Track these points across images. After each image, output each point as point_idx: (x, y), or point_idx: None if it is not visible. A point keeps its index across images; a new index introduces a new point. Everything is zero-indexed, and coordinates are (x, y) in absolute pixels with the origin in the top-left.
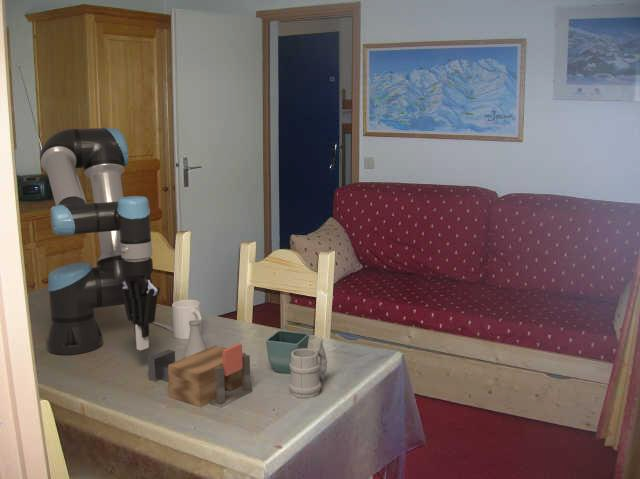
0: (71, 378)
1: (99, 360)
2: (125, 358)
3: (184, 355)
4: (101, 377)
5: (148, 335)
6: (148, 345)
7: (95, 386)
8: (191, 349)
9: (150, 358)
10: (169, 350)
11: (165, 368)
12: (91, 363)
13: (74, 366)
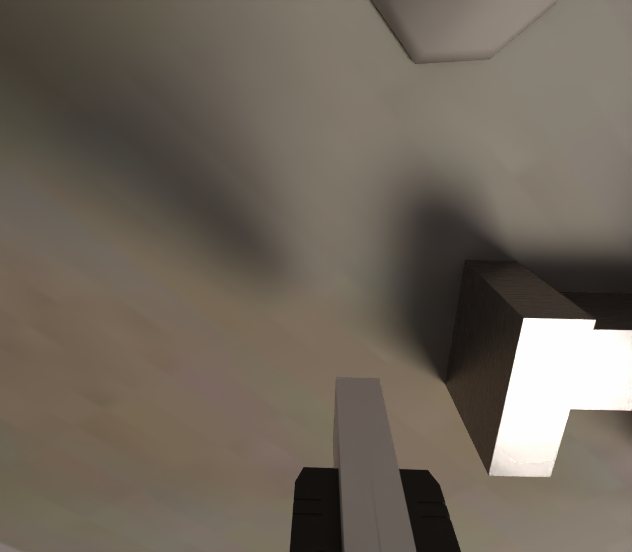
0: (137, 520)
1: (18, 343)
2: (97, 253)
3: (429, 52)
4: (231, 463)
5: (432, 480)
6: (380, 389)
7: None
8: (507, 18)
9: (512, 474)
10: (548, 329)
11: (577, 405)
12: (30, 387)
13: (9, 445)
